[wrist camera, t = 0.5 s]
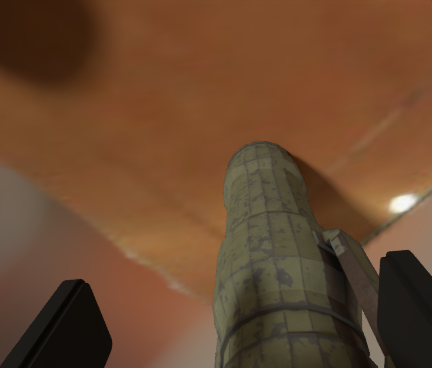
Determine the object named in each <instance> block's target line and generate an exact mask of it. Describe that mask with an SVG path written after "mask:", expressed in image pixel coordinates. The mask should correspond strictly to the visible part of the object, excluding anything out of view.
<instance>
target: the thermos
mask: <svg viewBox="0 0 432 368" xmlns="http://www.w3.org/2000/svg"><path fill="white" fill-rule="evenodd" d="M223 195H224V205H225V207H226V210H227V221H226V236H225V239H224V241H223V242H222V245H221V248H220V251H219V254H218V259H217V270H216V280H215V290H214V300H213V315H214V325H215V328H216V331H217V334H218V341H217V348H216V356H215V368H378V366H377V365H376V364H375V363H374V362H373V361H372V360H371V358H369V356H370V352H369V349H368V345H367V342H366V338H365V336H364V333H363V331H362V310H363V312H364V314H365V316H366V318H367V320H368V322H369V325H370V327H371V329H372V331H373V333H374V335H375V337H376V339H377V342H378V343H379V346H380V348H381V350H382V352H383V354H384V356H385V364H384V368H395V366H394V364H393V362H392V359H391V357H390V355H389V353H388V351H387V349H386V347H385V345H384V343H383V341H382V339H381V337H380V335H379V332H378V328H377V308H378V290H379V275H378V274H377V272H376V270H375V269H374V267H373V265H372V264H371V262H370V260H369V259H368V257H367V255H366V253H365V252H364V250H363V248H362V246H361V245H360V244H359V243H358V242H357V241H356V240H354V239H353V238H352V237H351V236H349V235H348V234H346V233H345V232H343V231H342V230H340V229H333V230H326V231H325V230H324V229H323V228H322V226H320V225H318V223H317V221H316V219H315V216H314V214H313V212H312V210H311V207H310V205H309V203H308V201H307V188H306V185H305V182H304V178H303V176H302V174H301V172H300V170H299V168H298V166H297V164H296V163H295V162H294V161H293V159H292V157H291V156H290V155H289V154H288V152H287V151H286V150H285V149H283V148H282V147H280V146H279V145H277V144H274V143H270V142H266V141H265V142H253V143H251V144H248V145H245V146H243V147H242V148H241V149H239V150H238V151H237V152H236V153H235V154H234V155H233V157H232V158H231V160H230V161H229V165H228V168H227V173H226V176H225V181H224V191H223Z"/></svg>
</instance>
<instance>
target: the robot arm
mask: <svg viewBox="0 0 432 368" xmlns="http://www.w3.org/2000/svg"><path fill="white" fill-rule="evenodd" d="M377 328H378V332H379V335H380V337H381V339H382V341H383V343H384V345H385V347H386V349H387V351H388V353H389V355H390V357H391V359H392V362H393V364H394V366H395V368H432V276H431V275H430V274H429V272H428V271H427V270H426V269H425V268H424V266H423V265H422V264H421V263H420V262H419V260H418V259H417V258H416V257H415V256H414V254H413V253H412V252H411V251H409V250H402V251H390V252H387V254H386V257H382V258H381V259H380V273H379V290H378V308H377ZM111 349H112V339H111V336H110V334H109V331H108V329H107V327H106V324H105V321H104V319H103V316H102V314H101V312H100V309H99V307H98V304H97V302H96V299H95V297H94V294H93V292H92V289H91V287H90V285H89V284H88V283H85V281H84V280H82V279H76V280H65V281H63V282H62V283H61V284H60V286H59V287H58V288H57V290H56V291H55V293H54V294H53V295H52V297H51V298H50V299H49V301H48V302H47V303H46V305H45V306H44V308H43V309H42V310H41V311H40V313H39V314H38V316H37V317H36V318H35V320H34V321H33V322H32V324H31V325H30V326H29V328H28V329H27V330H26V332H25V333H24V335H23V336H22V337H21V339H20V340H19V341H18V343H17V344H16V345H15V347H14V348H13V349H12V351H11V352H10V353H9V355H8V356H7V357H6V359H5V360H4V362H3V363H2V364H1V366H0V368H104V367H105V365H106V362H107V360H108V357H109V355H110V352H111Z"/></svg>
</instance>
